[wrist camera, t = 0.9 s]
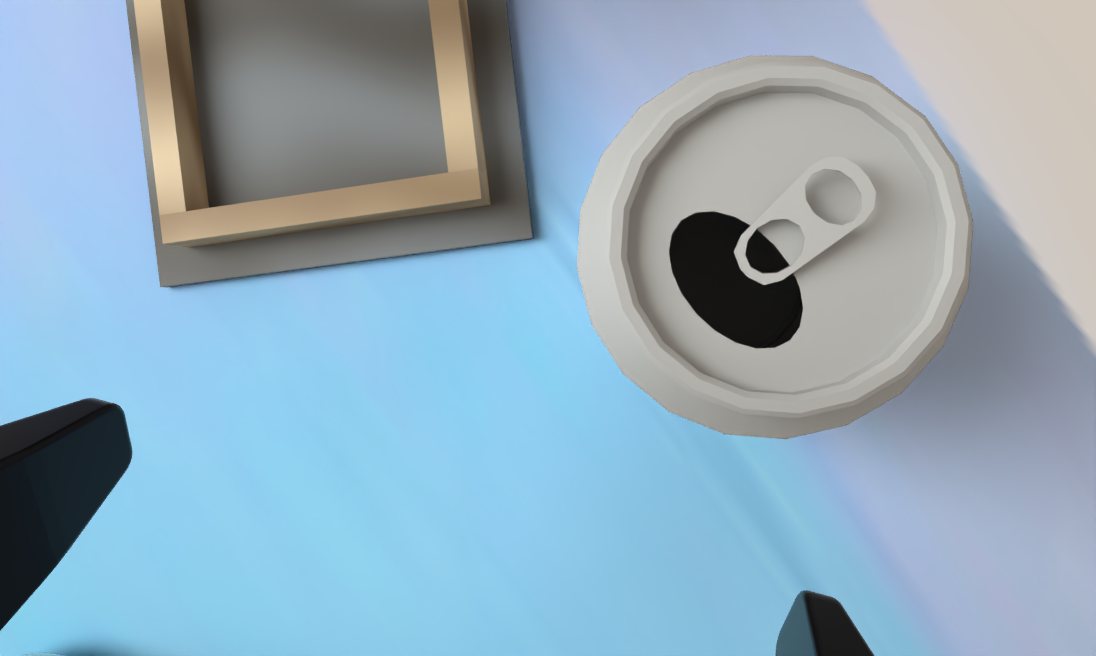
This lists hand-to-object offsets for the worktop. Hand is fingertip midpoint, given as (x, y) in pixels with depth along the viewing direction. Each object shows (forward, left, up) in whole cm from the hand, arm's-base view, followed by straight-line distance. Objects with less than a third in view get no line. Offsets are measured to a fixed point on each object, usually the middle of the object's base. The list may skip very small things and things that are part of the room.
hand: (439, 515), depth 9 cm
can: (+3, -5, -16) cm, 17 cm away
